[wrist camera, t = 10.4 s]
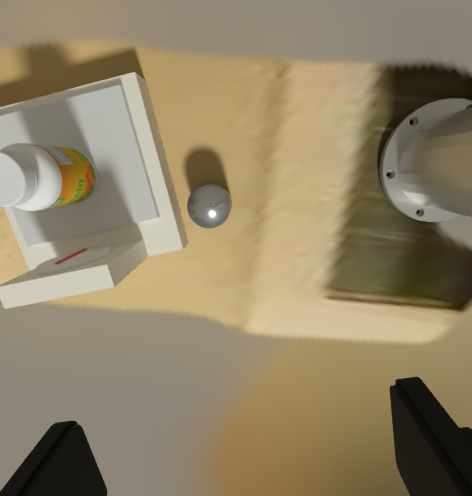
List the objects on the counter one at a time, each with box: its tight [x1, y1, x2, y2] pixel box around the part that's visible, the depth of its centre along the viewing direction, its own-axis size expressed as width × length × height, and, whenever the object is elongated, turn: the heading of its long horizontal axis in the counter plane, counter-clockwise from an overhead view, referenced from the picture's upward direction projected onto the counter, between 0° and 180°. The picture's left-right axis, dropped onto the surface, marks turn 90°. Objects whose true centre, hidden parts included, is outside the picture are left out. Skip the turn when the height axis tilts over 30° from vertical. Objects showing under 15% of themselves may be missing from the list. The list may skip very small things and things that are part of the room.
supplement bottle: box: [0, 143, 97, 211], centre depth 26 cm, size 5×5×10 cm
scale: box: [0, 72, 188, 309], centre depth 29 cm, size 18×18×12 cm
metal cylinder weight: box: [187, 183, 232, 228], centre depth 33 cm, size 4×4×4 cm
